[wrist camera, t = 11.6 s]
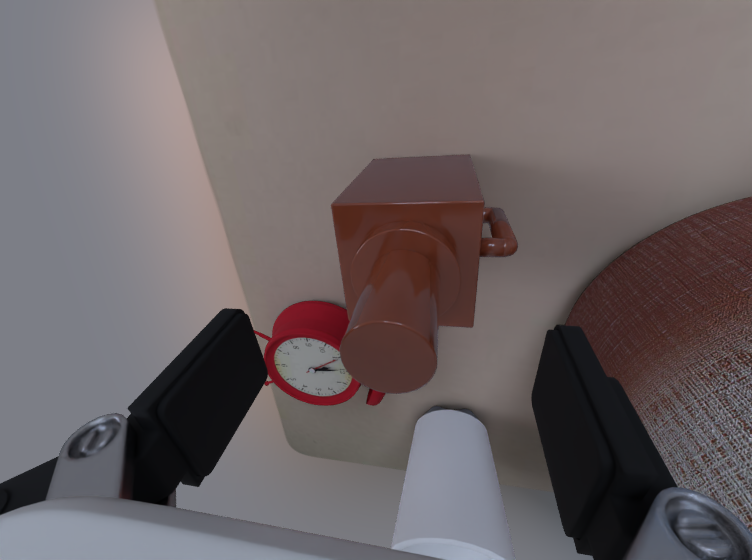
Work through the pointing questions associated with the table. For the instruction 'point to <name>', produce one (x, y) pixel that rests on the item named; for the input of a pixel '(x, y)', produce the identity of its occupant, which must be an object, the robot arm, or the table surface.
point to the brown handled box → (411, 263)
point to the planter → (685, 346)
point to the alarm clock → (311, 355)
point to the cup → (452, 492)
